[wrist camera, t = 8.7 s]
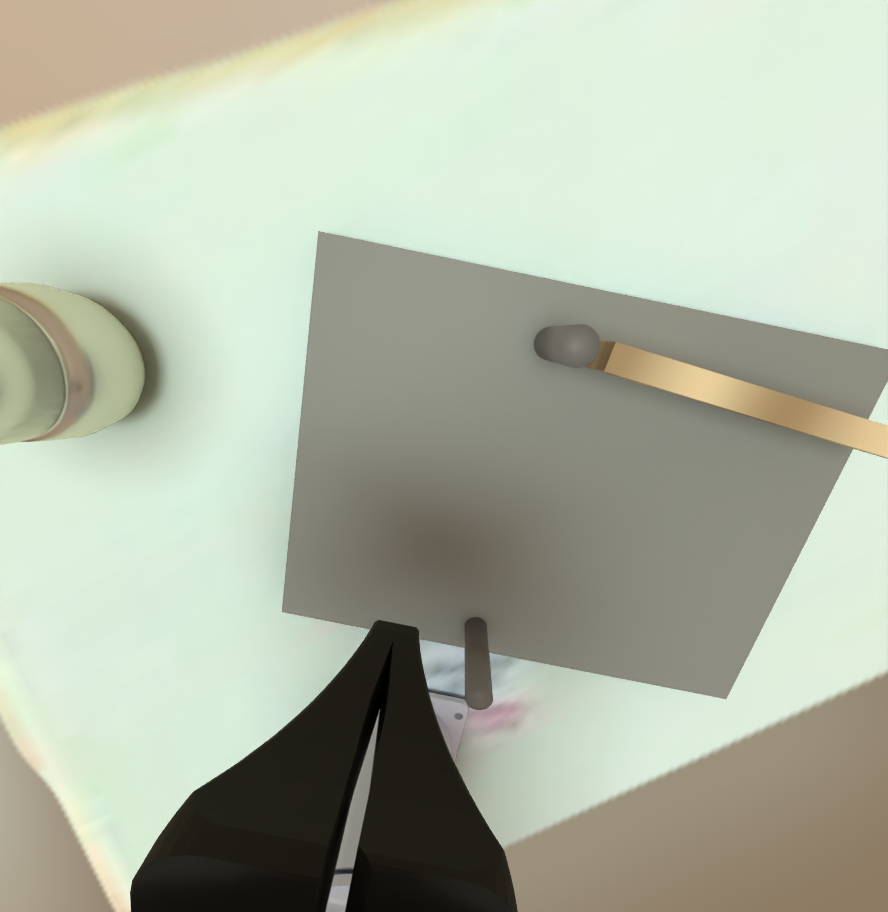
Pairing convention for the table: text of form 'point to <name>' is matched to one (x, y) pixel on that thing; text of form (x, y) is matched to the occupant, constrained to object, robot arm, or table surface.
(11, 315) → the plastic bottle
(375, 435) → the gate board
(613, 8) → the table surface
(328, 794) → the robot arm
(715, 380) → the board
